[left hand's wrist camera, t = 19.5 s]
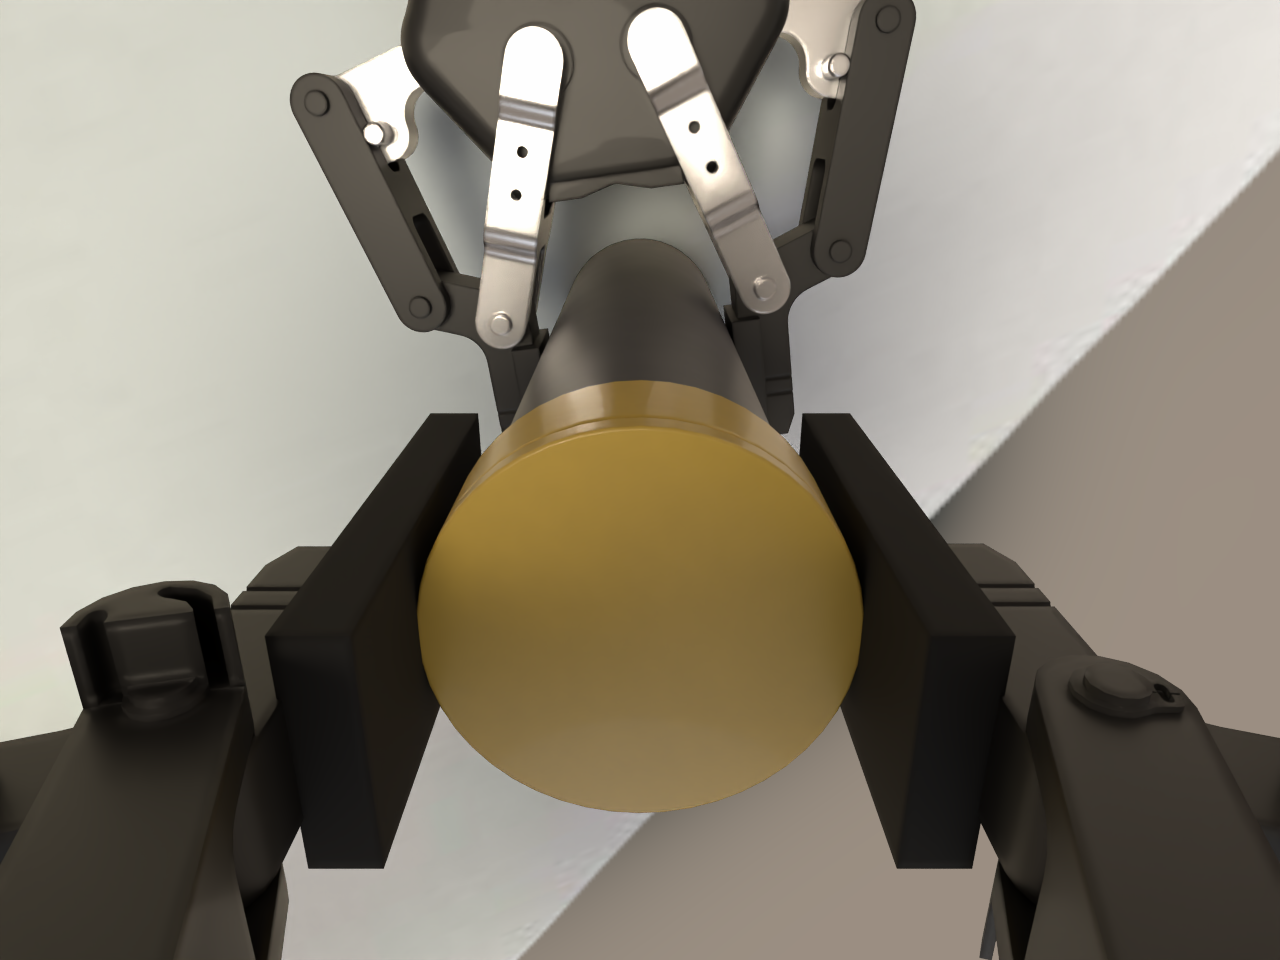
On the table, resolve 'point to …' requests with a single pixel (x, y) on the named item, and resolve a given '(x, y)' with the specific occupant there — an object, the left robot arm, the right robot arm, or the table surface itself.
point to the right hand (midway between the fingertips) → (654, 458)
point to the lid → (640, 601)
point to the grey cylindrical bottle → (640, 329)
